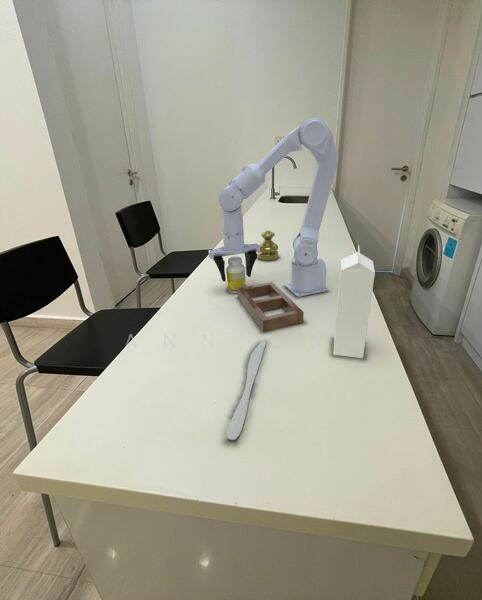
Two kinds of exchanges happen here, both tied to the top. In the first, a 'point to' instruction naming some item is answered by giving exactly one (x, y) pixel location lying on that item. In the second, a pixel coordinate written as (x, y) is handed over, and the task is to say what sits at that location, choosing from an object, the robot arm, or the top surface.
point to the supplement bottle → (235, 274)
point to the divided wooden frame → (270, 306)
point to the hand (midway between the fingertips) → (236, 277)
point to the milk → (353, 305)
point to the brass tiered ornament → (268, 247)
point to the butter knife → (245, 393)
